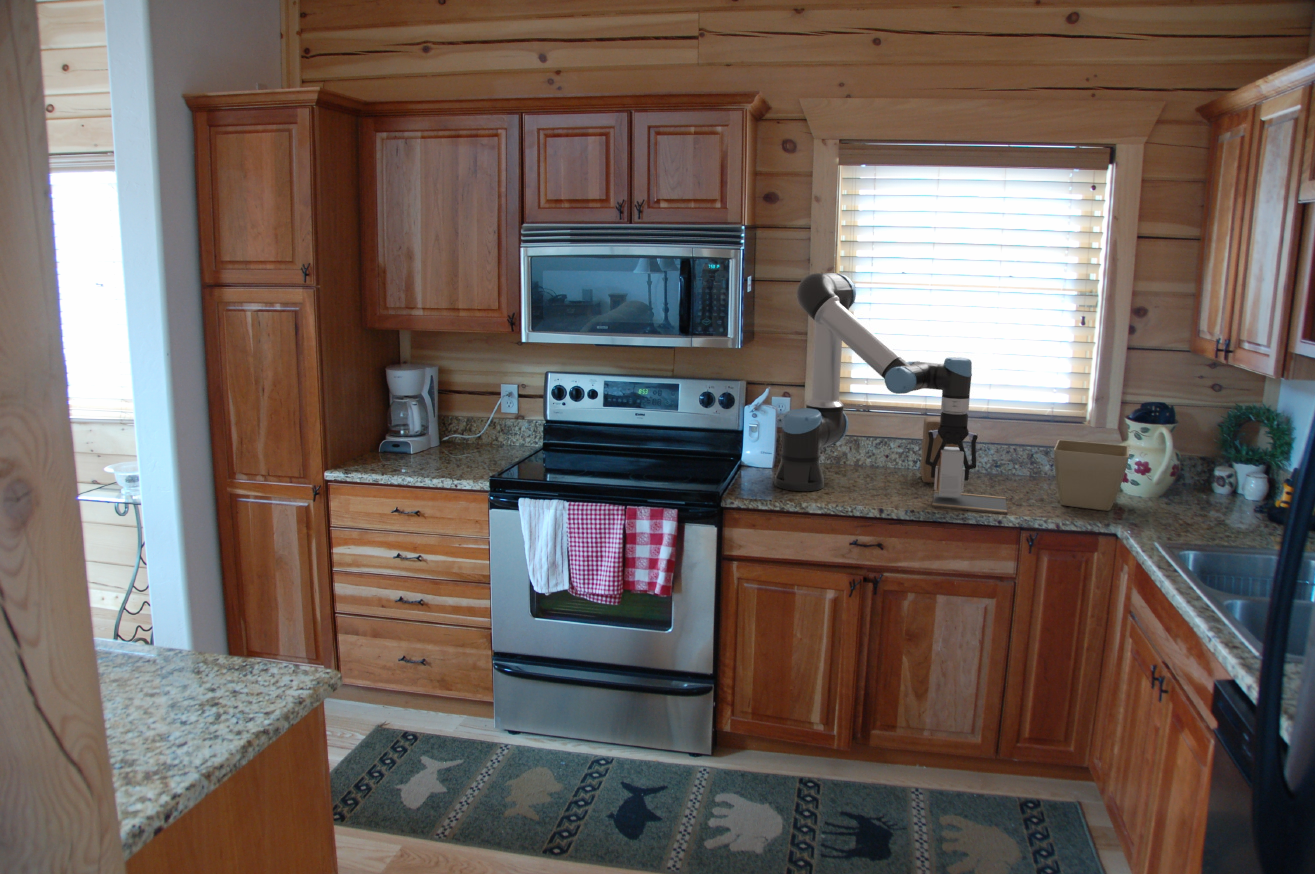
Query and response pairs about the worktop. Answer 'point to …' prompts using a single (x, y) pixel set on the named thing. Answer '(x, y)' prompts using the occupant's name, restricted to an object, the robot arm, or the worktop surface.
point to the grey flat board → (971, 503)
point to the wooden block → (925, 470)
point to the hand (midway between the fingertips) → (948, 489)
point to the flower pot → (1089, 473)
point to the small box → (950, 472)
